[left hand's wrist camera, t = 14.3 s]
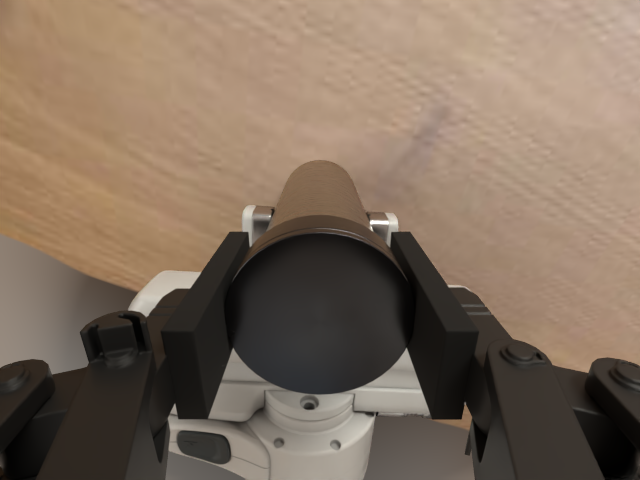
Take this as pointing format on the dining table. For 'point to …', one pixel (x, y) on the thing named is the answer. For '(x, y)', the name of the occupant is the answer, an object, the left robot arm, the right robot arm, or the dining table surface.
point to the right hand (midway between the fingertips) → (320, 211)
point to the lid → (319, 306)
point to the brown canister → (319, 195)
